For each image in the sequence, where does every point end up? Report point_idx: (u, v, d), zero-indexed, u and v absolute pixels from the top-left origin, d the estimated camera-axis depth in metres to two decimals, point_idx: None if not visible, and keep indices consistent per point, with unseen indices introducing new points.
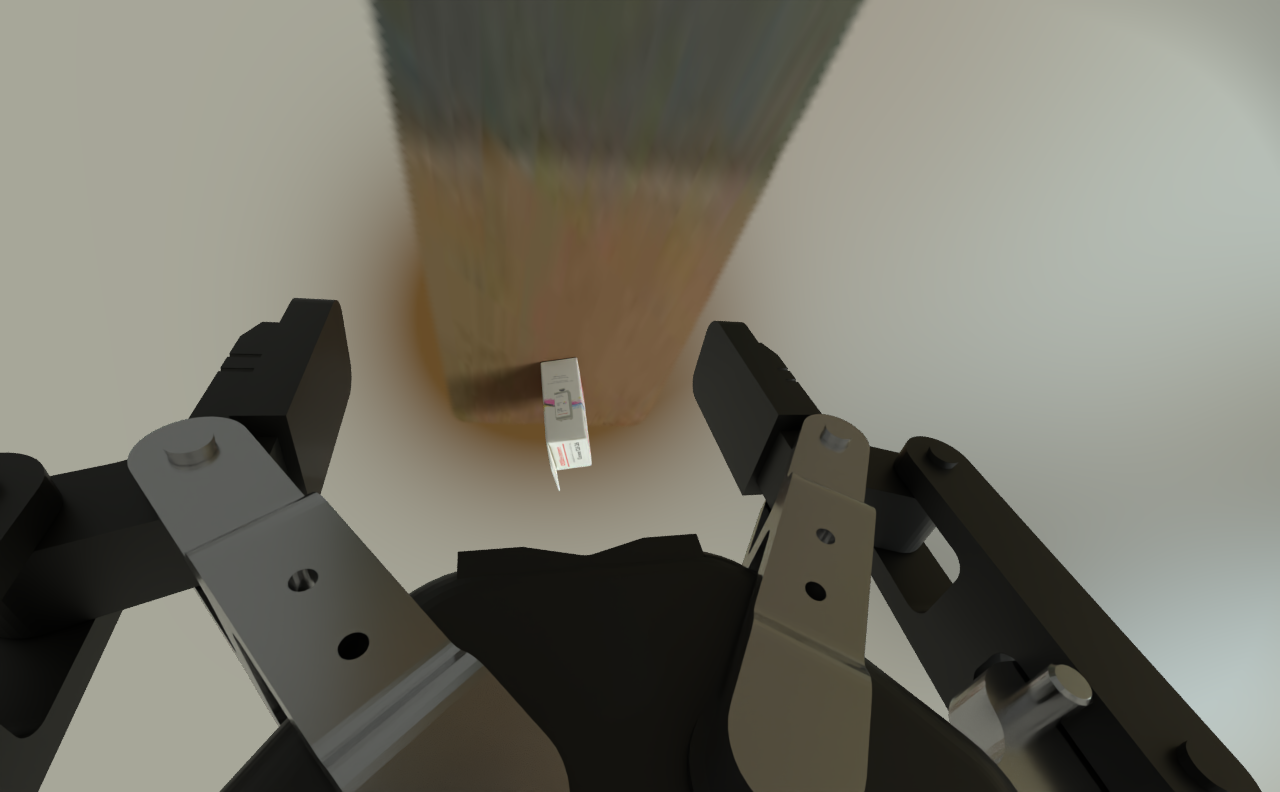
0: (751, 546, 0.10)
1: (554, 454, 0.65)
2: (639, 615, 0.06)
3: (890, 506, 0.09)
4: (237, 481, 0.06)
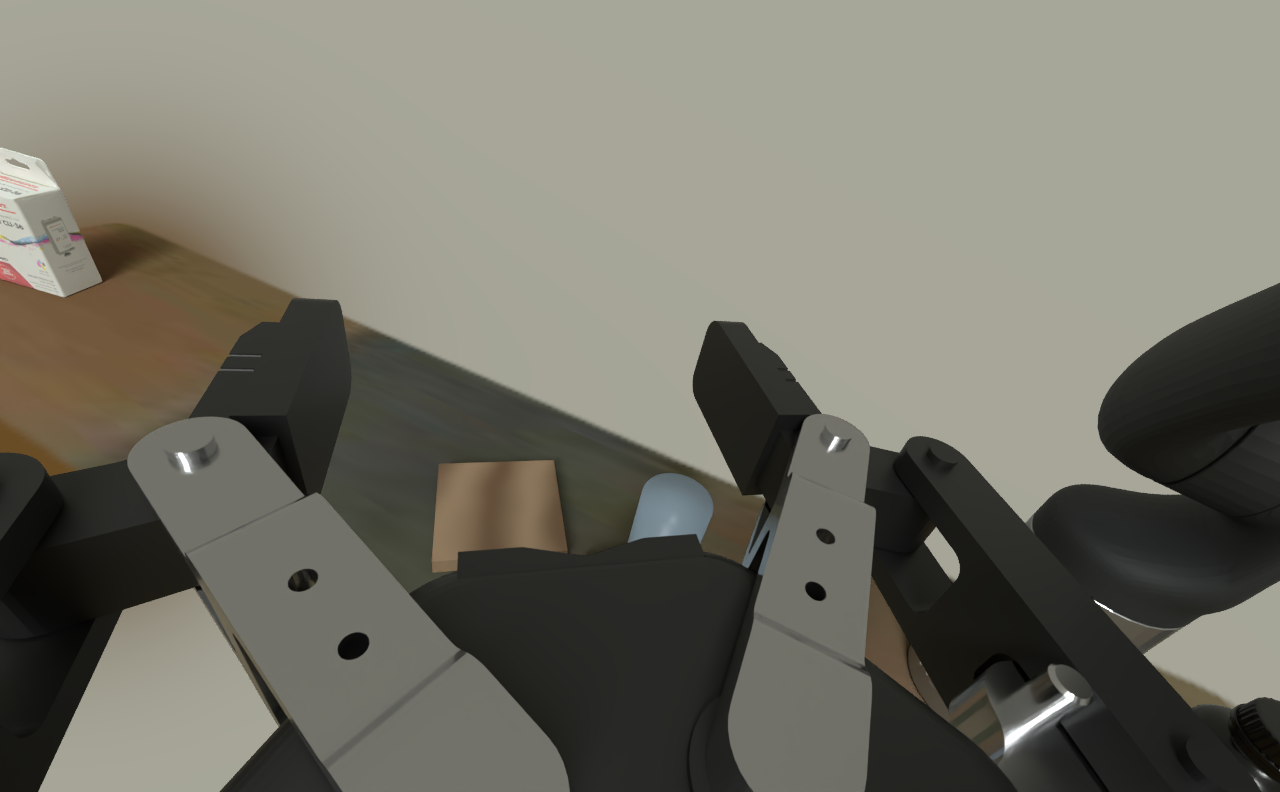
0: (751, 546, 0.10)
1: (29, 181, 0.59)
2: (639, 615, 0.06)
3: (890, 506, 0.09)
4: (237, 481, 0.06)
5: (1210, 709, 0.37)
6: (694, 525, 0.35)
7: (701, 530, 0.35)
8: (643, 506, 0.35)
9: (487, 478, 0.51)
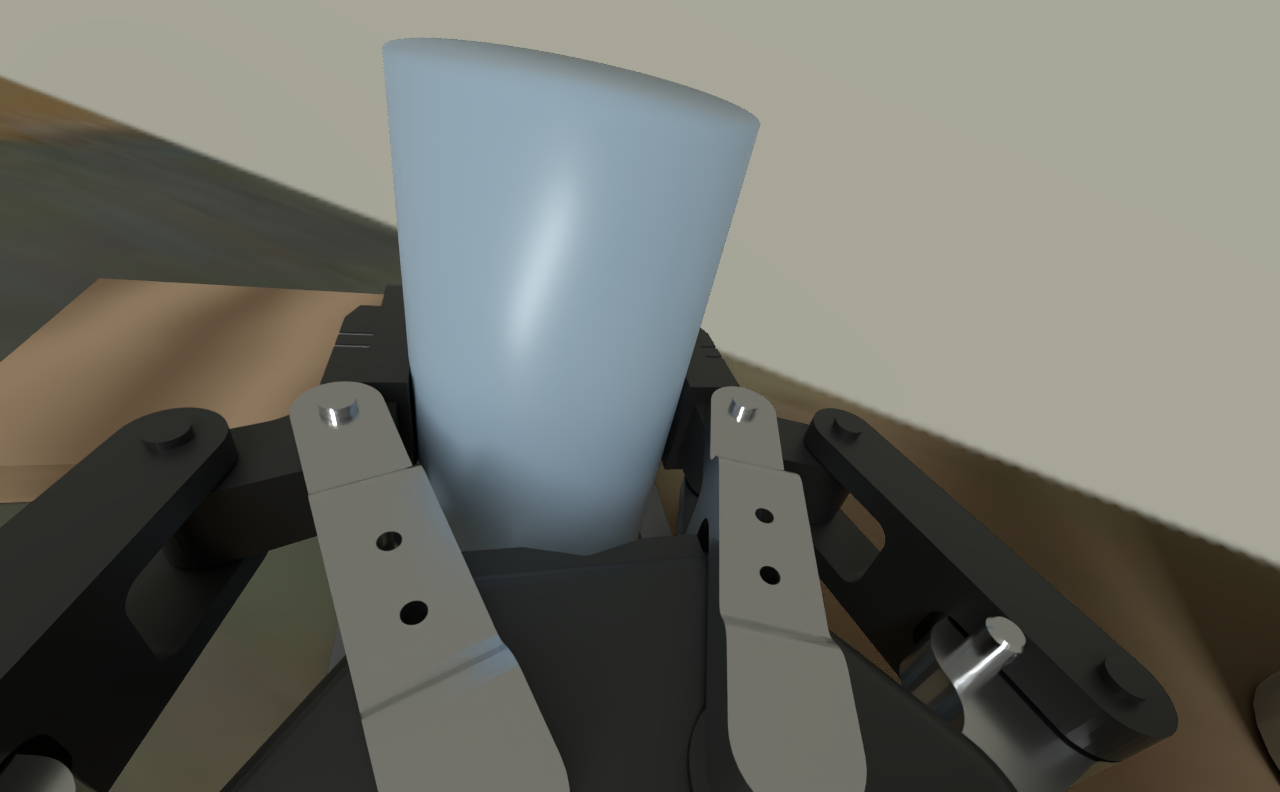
0: (682, 530, 0.10)
1: None
2: (639, 615, 0.06)
3: None
4: (383, 434, 0.07)
5: None
6: (654, 123, 0.06)
7: (698, 186, 0.06)
8: None
9: (206, 310, 0.22)
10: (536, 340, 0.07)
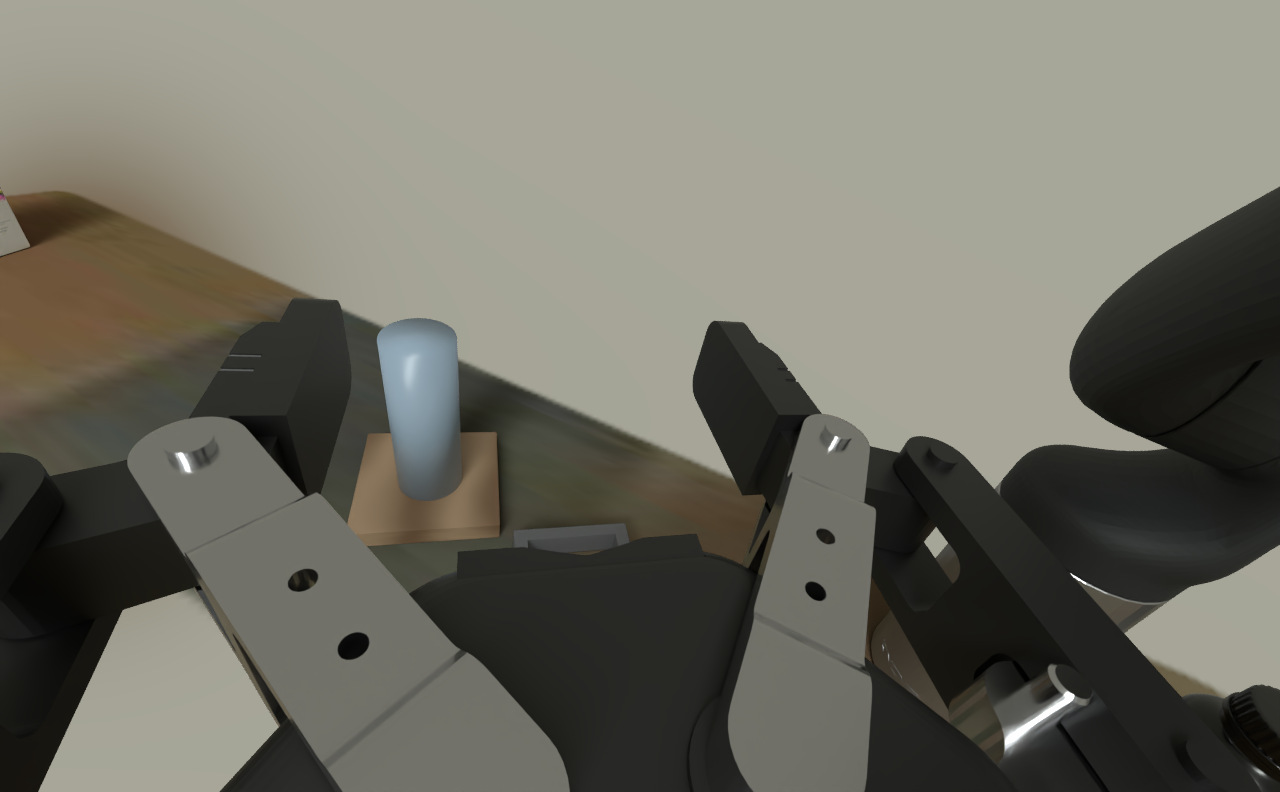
0: (751, 546, 0.10)
1: None
2: (639, 615, 0.06)
3: (890, 506, 0.09)
4: (237, 481, 0.06)
5: (1200, 699, 0.33)
6: (421, 356, 0.35)
7: (433, 364, 0.35)
8: None
9: None
10: (406, 391, 0.36)
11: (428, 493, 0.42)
